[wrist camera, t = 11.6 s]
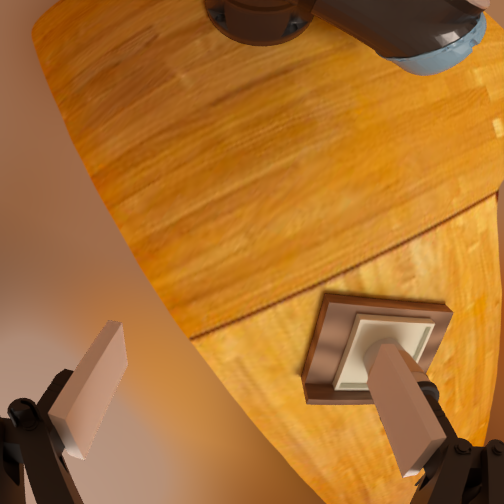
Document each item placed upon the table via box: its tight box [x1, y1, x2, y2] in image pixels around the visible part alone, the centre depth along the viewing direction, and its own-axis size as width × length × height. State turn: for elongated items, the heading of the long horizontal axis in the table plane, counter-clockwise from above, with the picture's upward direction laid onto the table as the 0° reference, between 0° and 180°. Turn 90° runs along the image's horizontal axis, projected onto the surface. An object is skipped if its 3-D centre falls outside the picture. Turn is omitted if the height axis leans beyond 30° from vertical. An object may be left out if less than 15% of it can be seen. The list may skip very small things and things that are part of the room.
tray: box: [332, 314, 435, 390], centre depth 48 cm, size 14×14×2 cm
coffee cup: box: [363, 338, 439, 422], centre depth 41 cm, size 9×9×15 cm
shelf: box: [301, 293, 454, 405], centre depth 48 cm, size 17×24×7 cm
